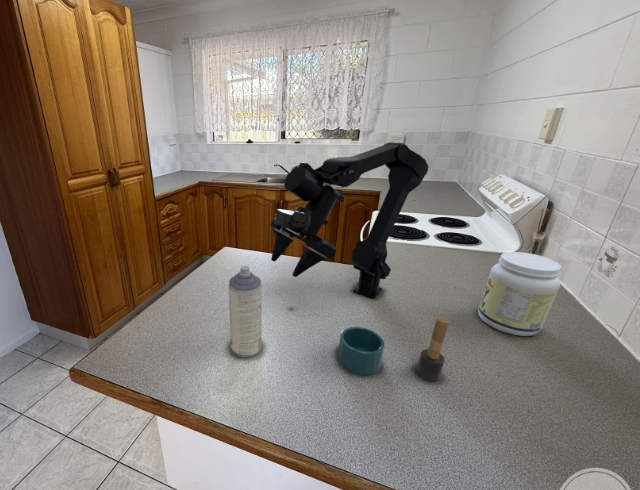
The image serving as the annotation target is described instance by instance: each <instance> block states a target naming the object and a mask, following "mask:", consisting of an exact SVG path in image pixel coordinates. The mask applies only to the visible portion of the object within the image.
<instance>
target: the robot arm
mask: <svg viewBox="0 0 640 490" xmlns="http://www.w3.org/2000/svg"><path fill="white" fill-rule="evenodd" d="M383 166H385V167H386V168H387V169H388V170H389V172H388V175H387V179H388V185H389V188H388V190H387V192H386V195H385V197H384V199H383V201H382V204H381V205H380V208H379V210H378V213H377V215H376V217H375V219H374V222H373V224H372V226H371V228H370V231H369V233H368V235H367V236H366V238H364V239H363V240H361V239H359V240H357V241H356V243H355V247H354V249H353V250H352V251H351V254H352V255H351V260H352V265H353V269H355V270H357V271H359V276H358V282H357V285H356V286H355V287H354V288H353V290H352V291H353V293H357V294H359V295H362V296H366V297H369V298H372V299H377V298H378V296H379V294H381V293H382V291H383V288H382V287H380V284H381V280H386V279H387V277H389V276H390V273H391V271H392V268H391V267H390V266H389V265H388V264H387V262H386V260H387V258H388V249H387V242H388V240H389V238H390V235H391V233H392V231H393V229H394V227H395V224H396V222H397V220H398V218H399V216H400V213H401V211H402V209H403V206H404V205H405V202H406V200H407V198H408V196H409V194H410V193H412V191H414V190H415V189H416V188H417V187H419V186H420V185H421V184H422V182H423V180H424V178H425V176H426V175H427V174H428V171H429V164H428V162H427V160H426V158H424V157H423V156H422V155H420V154H419V153H417V152H416V151H414V150H412V149H411V148H410V147H409V146H408V145H407V144H405V143H403V142H391V141H389V142H387V143H384V144H383V145H380V146H378V147H375V148H372V149H369V150H367V151H364V152H361V153H358V154H356V155H353V156H338V157H331V158H327V159H325V160H324V161H323V162H322V165H320V166H318V167H316V168H313V167H312V165H311V164H309V162H305V161H304V162H303V161H301V162H300V163H299V164H298V166H296V167H294V168H293V169H292V170H290V171H289V173H287V175H286V176H285V178H284V182H283V186H284V189H285V190H287V191H288V192H289V193H291V194H292V195H294V196H295V197H296V198H298V199H300V200H301V201H303V202H305V204H304V206H301V205H300V206H298V207H297V209H296V210H295V211H294V210H289V209H280V208H277V209H276V212H275V218H273V219H272V221H271V223H270V226H271V231H272V233H273V236H274V244H273V248H272V253H271V257H270V261H272V262H276V261H277V260H278V259H280V257H281V256H282V255H283V254H284V253H285V251H286V250H287V249H288V248H289V246H290V245H291V244H292V243H293V242H294V239H293V238H296V239H298V240H299V241H301V242H304V243H305V245H302V246H301V249H302V253H301V255H300V258H299V260H298V262H297V263H296V265H295V268H294V270H293V271H292V274H291V275H292V276H293V277H294V278H298V277H299V276H300V275H301V274H303V273H304V272H306V271H307V270H309V269H310V268H312V267H314V266H315V265H317V264H320V263H321V262H322V261H325V262H326V261H327V260H328V259H330V260H333V259H334V257H335V255H336V253H337V246H334V245H333V244H331V242H328V241H327V240H325V239H323V238H321V237H320V236H319V235H318V233H319V232H320V229H322V226H323V225H324V226H327V225H328V224H329V220H327V218H328V217H329V215H330V213H331V211H332V210H333V207H334V206H335V204H336V203H337V202H340V203H344V202H345V196H344V193H343V192H344V191H343V189H340V188H334V187H333V186H338V187H341V188H347V187H350V186H351V185H353V184H354V183H356V182H357V181H359V180H360V178H361V176H362V175H364V174H366V173H368V172H370V171H373V170H376V169H378V168H381V167H383ZM331 185H332V186H331ZM327 258H328V259H327Z"/></svg>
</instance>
